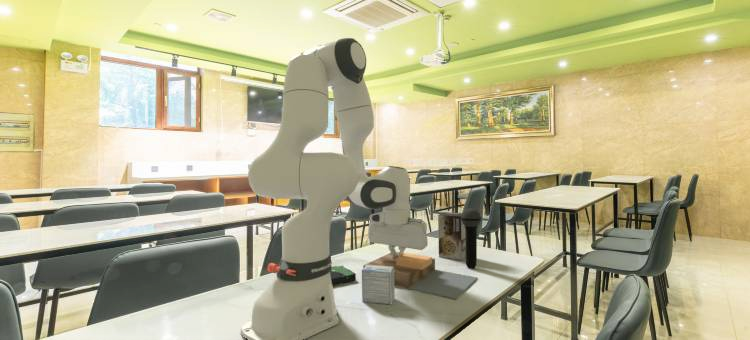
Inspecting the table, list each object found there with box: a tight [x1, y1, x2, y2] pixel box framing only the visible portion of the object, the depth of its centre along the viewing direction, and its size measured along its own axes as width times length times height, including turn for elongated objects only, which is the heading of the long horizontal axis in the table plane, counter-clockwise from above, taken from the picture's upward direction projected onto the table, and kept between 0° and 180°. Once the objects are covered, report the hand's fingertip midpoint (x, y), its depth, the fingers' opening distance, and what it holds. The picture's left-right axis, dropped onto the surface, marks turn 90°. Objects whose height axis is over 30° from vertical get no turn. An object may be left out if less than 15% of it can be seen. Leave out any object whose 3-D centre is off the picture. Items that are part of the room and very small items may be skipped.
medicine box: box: [361, 265, 396, 305], centre depth 90 cm, size 8×4×9 cm, turn 74°
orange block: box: [396, 252, 433, 270], centre depth 107 cm, size 7×9×2 cm
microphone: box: [461, 208, 482, 270], centre depth 114 cm, size 7×7×20 cm
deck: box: [362, 251, 436, 290], centre depth 109 cm, size 18×16×4 cm
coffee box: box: [437, 211, 466, 261], centre depth 127 cm, size 9×6×16 cm
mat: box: [408, 269, 478, 300], centre depth 101 cm, size 18×14×1 cm
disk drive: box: [330, 265, 357, 287], centre depth 105 cm, size 10×3×15 cm
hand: (397, 259), depth 110 cm, fingers closed
